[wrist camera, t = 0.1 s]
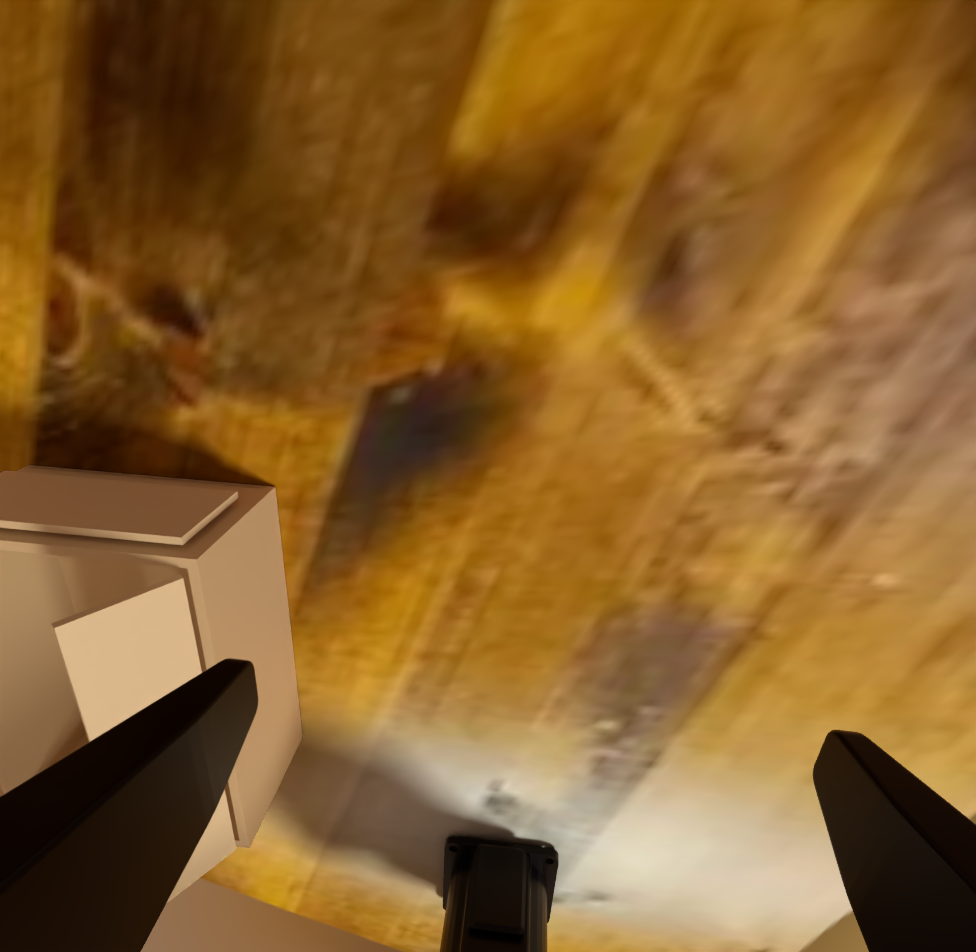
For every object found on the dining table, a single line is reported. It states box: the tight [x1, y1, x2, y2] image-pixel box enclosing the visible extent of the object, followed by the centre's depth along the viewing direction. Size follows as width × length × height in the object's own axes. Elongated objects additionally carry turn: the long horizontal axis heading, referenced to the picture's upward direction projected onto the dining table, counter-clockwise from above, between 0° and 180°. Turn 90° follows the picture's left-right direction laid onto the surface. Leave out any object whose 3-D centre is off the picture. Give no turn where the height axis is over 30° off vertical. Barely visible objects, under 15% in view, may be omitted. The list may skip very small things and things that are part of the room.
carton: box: [0, 465, 303, 848], centre depth 25 cm, size 16×12×6 cm
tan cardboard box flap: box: [51, 575, 236, 904], centre depth 20 cm, size 14×4×1 cm
